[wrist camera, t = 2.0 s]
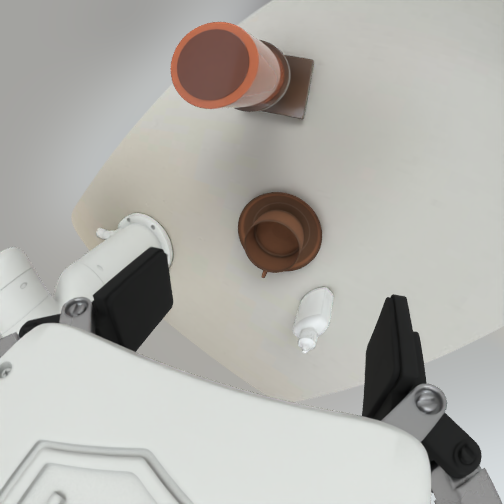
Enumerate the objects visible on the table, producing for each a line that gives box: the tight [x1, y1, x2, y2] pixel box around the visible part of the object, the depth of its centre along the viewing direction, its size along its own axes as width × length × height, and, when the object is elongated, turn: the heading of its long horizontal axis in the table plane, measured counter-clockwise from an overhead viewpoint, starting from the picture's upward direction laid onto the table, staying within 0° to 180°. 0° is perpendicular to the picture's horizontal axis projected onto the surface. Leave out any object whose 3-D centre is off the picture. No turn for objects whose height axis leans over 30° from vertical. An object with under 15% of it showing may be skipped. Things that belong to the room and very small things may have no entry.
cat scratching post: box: [235, 40, 314, 119], centre depth 28 cm, size 8×8×12 cm
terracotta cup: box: [171, 22, 284, 109], centre depth 19 cm, size 6×6×8 cm
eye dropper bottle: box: [293, 287, 334, 353], centre depth 41 cm, size 4×6×12 cm
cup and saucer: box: [238, 192, 322, 278], centre depth 40 cm, size 12×12×6 cm
